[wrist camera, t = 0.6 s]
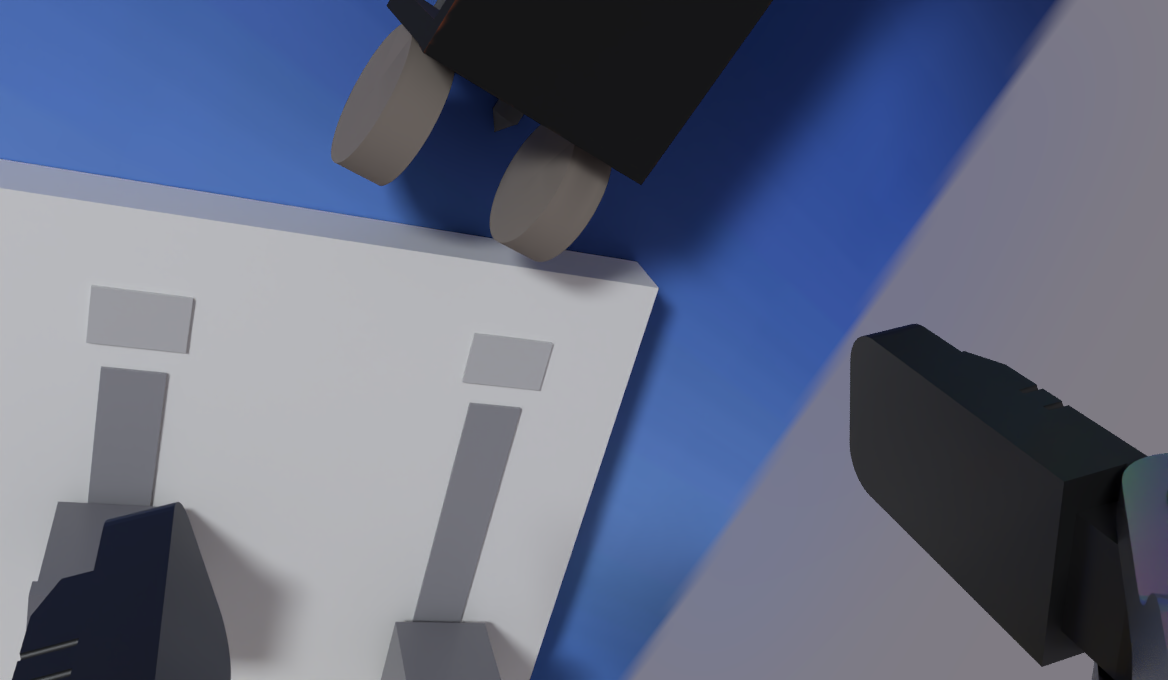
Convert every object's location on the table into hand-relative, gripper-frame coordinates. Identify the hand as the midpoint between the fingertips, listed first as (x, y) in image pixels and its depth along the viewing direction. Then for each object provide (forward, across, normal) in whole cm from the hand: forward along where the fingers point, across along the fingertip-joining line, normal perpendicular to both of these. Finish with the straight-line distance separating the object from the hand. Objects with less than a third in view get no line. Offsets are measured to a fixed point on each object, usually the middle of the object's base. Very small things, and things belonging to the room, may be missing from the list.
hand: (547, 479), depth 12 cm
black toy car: (+18, -6, -5) cm, 20 cm away
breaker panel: (+19, +5, +12) cm, 23 cm away
